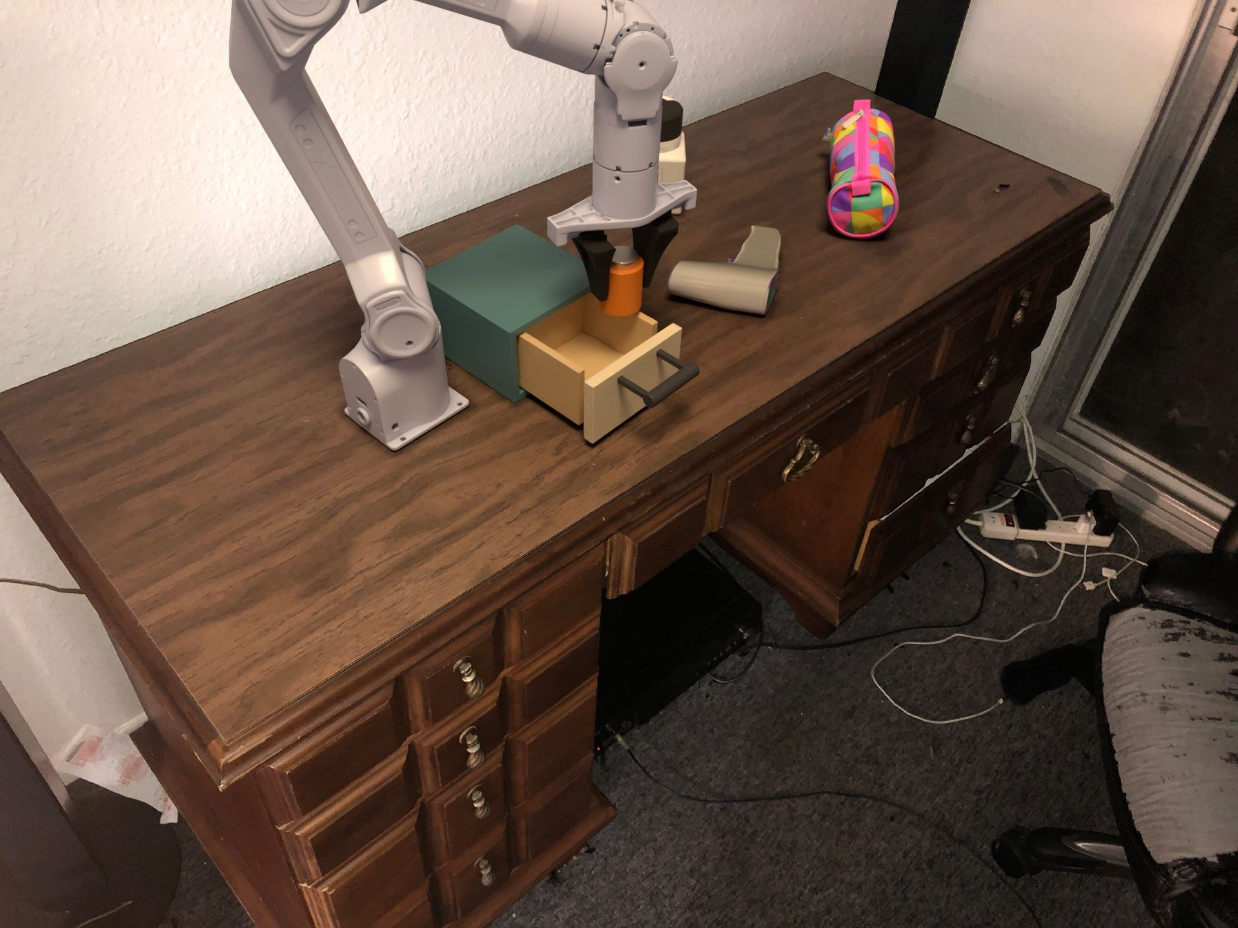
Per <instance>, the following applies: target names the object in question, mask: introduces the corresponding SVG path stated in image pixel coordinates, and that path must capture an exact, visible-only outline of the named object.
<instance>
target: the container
mask: <svg viewBox="0 0 1238 928" xmlns="http://www.w3.org/2000/svg"><path fill="white" fill-rule="evenodd" d="M683 120H684V107H683V106H682V104H681V103H680V102H679V101H678V100H676V99H674V98H672V97H670V96H666V95H663V98H662V122H661V137H660V152H659V166H658V180H657V184H660V183H673V182H679V181H683V180H685V178H686V177H685V176H686V165H687V155H686V142H685V133H684V131H683ZM682 211H683V207H681V208H677V209H674V210H672V216H679V215H681V214H682Z"/></svg>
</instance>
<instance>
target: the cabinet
mask: <svg viewBox="0 0 1238 928" xmlns="http://www.w3.org/2000/svg"><path fill="white" fill-rule="evenodd" d="M425 275H426V283H427V287H428V290H429V294H430V298H431V302H432V306H433V309H434V312H435V314H436V315H437V318H438V320H439V322H440V325H441V332H442V340H443V348H444V356H445V358H447V359H448V360H450V361H451V362H452V363H454V364H456V365H457V366H459V367H460V368H462V369H463V370H464V371H466V372H468V373H469V374H470V375H472V376H473V377H475V378H476V379H478V380H479V381H480V382H482V383H483V384H485V385H487V387H489V388H491V389H492V390H493V391H495V392H497V393H498V394H500V395H501V396H502V397H504V398H505V399H507V400H508V401H509V402H511V403H513V404H516V403H517V402H519V401H521V400H522V399H524V398H526V397H527V396H529V395H530V394H531V393H530V392H528V391H527V390H525V389H524V388H522V387H521V386H519V377H518V360H517V343H516V336H517V335H519V334H520V333H522V332H524V331H526V330H527V329H529V328H531V327H532V326H534V325H536V324H537V323H539V322H541V321H542V320H544V319H546V318H548V317H549V316H551V315H553V314H554V313H556V312H558V311H559V310H561V309H563V308H564V307H566V306H568V305H570V304H571V303H573V302H575V301H576V300H578V299H580V298H581V297H583V296H585V295H586V294H588V293H590V292H591V290H590V285H589V281H588V277H587V273H586V270H585V267H584V264H583V261H582V259H581V257H578V256H576V255H574V254H572V253H571V252H569V251H567V250H566V249H564V248H562V247H561V246H559V247H558V246H556V245H555V243H553V242H552V241H549V240H547V239H545V238H543V237H542V236H540V235H538V234H536V233H534V232H533V231H531V230H529V229H527V228H525V227H524V226H522V225H520V224H518V223H516V224H514V225H512V226H510V227H508V228H506V229H503V230H502V231H500V232H498V233H496V234H494V235H492V236H490V237H488V238H486V239H484V240H482V241H481V242H478V243H477V244H475V245H473V246H471V247H468V248H467V249H465V250H463V251H461V252H459V253H457V254H455V255H452V256H451V257H449V258H447V259H445V260H443V261H441V262H439V263H437V264H435V265H433V266H431V267H429V268H427V269H425Z"/></svg>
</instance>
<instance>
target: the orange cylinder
mask: <svg viewBox="0 0 1238 928" xmlns="http://www.w3.org/2000/svg"><path fill="white" fill-rule="evenodd" d="M613 246H614V245H613ZM614 247H615V248H616V251H615V254H614V256H613V259H612V263H611V267H610V273H609V294H608V298H607V300H606V301H603V302H600V301H599V300H598V304H599V307H600V308H601V310H602V311H604V312H605V313H607V314H610V315H614V316H628V315H631V314H634V313H636V312H637V311H640V309H641V307H642V301H643V299H642V298H643V287H642V284H643V267H644V261H643V259H642V257H641V256H640V255H638V254H637V252H636V251H635V250H634V249H633V247H631V246H628V245H615V246H614Z"/></svg>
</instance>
